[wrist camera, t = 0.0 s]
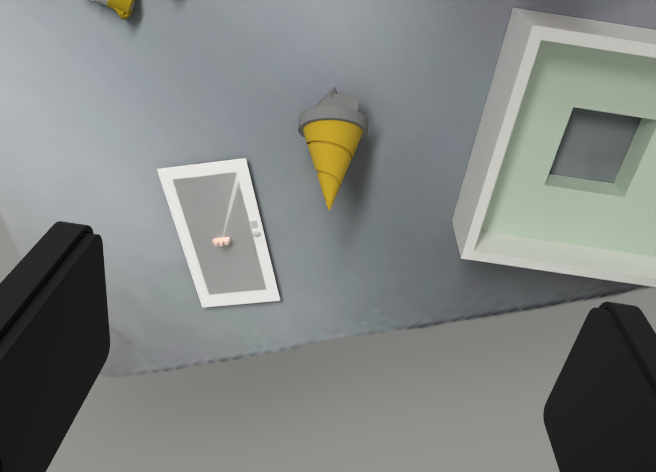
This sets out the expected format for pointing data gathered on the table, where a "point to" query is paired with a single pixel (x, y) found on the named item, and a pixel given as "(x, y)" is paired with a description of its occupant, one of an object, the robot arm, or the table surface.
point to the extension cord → (119, 6)
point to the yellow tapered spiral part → (333, 138)
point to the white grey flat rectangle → (221, 232)
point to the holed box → (541, 147)
